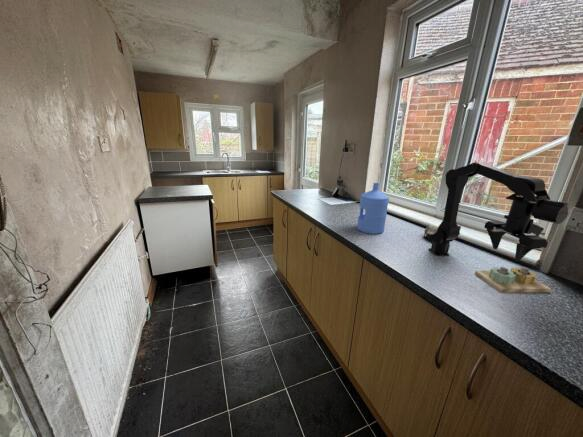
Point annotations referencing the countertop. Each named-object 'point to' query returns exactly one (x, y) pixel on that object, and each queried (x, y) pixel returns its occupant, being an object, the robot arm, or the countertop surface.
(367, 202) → the water jug
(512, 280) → the green gear
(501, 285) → the gear board
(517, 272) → the brass gear
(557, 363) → the countertop surface
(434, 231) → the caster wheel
